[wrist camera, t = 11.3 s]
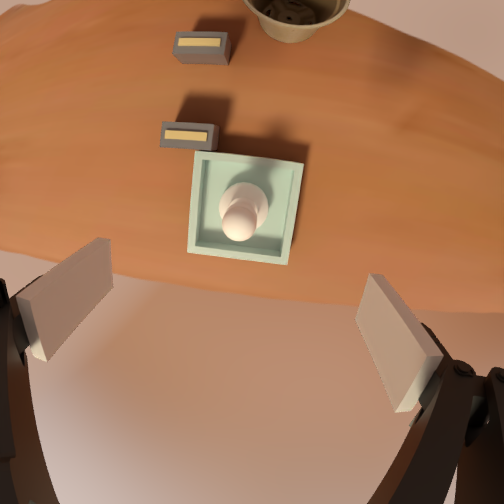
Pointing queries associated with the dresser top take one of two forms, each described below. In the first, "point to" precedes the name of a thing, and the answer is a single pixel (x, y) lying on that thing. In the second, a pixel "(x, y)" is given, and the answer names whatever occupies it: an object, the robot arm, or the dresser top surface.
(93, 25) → the dresser top surface
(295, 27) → the flower pot
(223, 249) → the tray
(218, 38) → the fuse holder
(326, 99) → the dresser top surface
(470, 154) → the dresser top surface
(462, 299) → the dresser top surface
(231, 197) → the chess pawn
